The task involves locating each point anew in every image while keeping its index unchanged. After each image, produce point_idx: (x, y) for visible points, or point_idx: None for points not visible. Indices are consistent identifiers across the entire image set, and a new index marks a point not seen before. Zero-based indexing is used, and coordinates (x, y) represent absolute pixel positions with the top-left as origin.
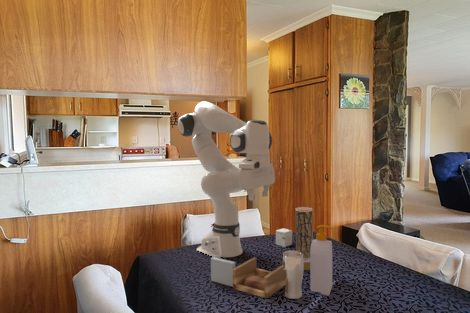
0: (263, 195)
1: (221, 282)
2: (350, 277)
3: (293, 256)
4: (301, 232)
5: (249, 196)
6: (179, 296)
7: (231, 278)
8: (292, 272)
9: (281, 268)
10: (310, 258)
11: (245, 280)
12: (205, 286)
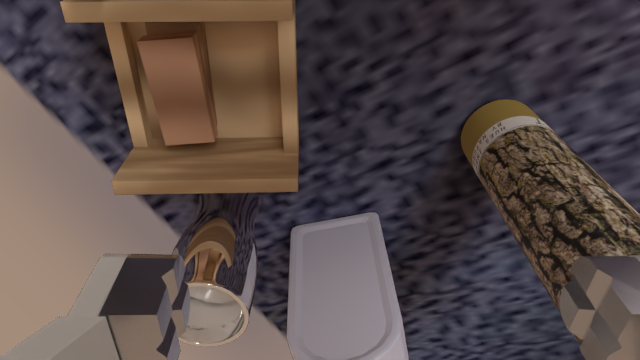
0: (579, 285)
1: None
2: (480, 275)
3: (245, 282)
4: (531, 250)
5: (79, 318)
6: None
7: None
8: None
9: (245, 191)
10: (287, 321)
11: (139, 40)
12: None
